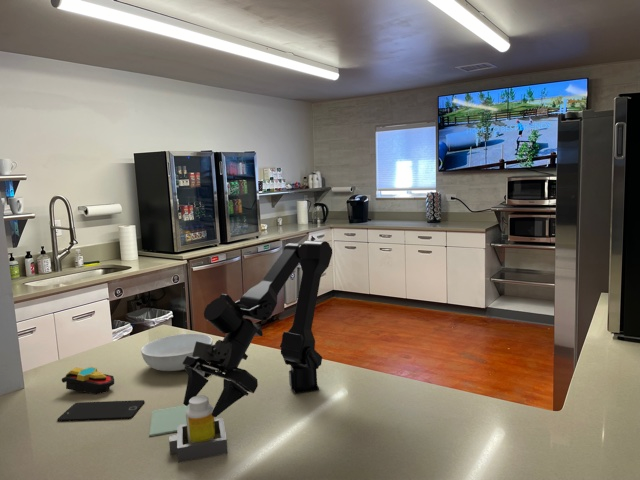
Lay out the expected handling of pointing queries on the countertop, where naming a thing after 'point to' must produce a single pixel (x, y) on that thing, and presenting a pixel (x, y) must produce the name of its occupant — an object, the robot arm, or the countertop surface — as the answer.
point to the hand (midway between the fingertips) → (198, 410)
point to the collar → (198, 444)
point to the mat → (167, 420)
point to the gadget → (88, 380)
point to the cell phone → (102, 410)
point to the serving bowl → (172, 350)
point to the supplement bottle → (200, 420)
